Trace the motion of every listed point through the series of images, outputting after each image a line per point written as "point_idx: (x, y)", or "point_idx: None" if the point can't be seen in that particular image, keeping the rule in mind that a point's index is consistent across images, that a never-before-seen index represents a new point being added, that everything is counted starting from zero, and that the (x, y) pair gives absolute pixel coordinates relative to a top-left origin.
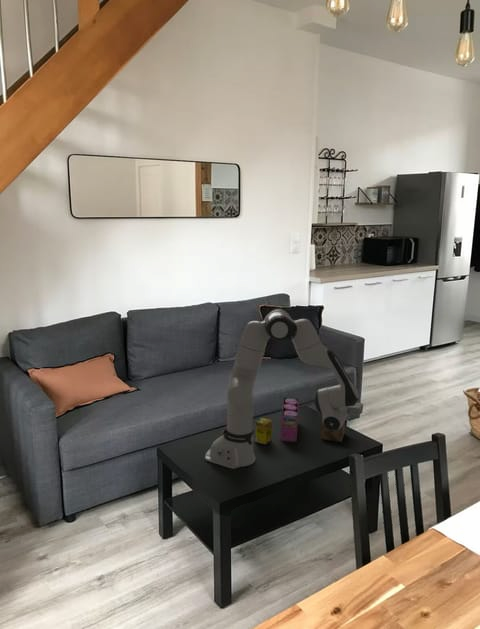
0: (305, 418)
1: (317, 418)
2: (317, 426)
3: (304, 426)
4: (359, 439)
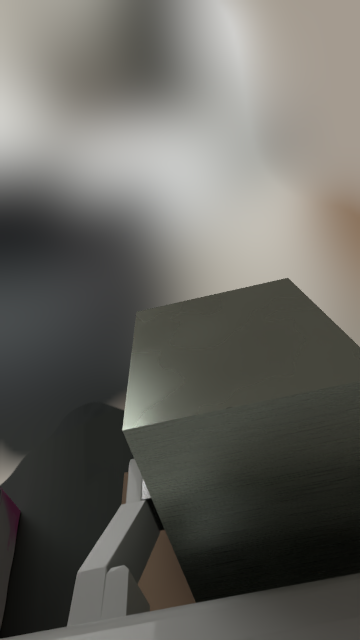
0: (59, 453)
1: (105, 430)
2: (110, 497)
3: (50, 532)
4: None
